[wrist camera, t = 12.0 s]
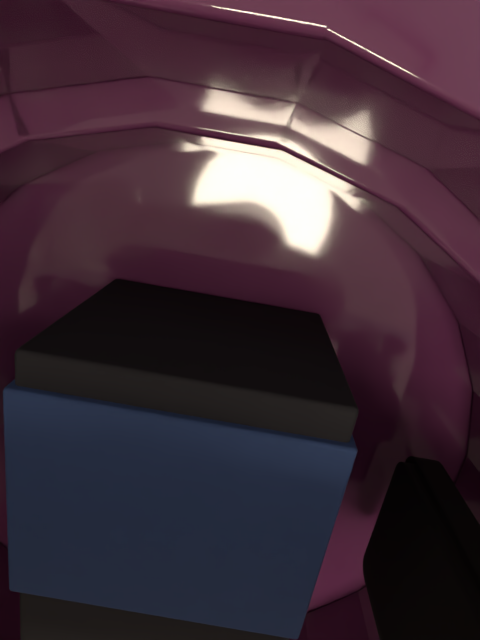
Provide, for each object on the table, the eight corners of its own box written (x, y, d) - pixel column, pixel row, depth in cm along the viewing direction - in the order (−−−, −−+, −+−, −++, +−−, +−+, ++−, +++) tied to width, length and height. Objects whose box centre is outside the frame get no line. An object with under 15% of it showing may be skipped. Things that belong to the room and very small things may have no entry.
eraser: (96, 529, 11) (12, 707, 7) (111, 276, 9) (-1, 352, 5) (264, 558, 11) (264, 750, 7) (324, 313, 9) (370, 416, 5)
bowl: (-72, 579, 13) (-323, 883, 8) (-141, 20, 8) (-1077, -337, 2) (397, 659, 13) (497, 1019, 8) (623, 157, 8) (1431, 119, 3)
